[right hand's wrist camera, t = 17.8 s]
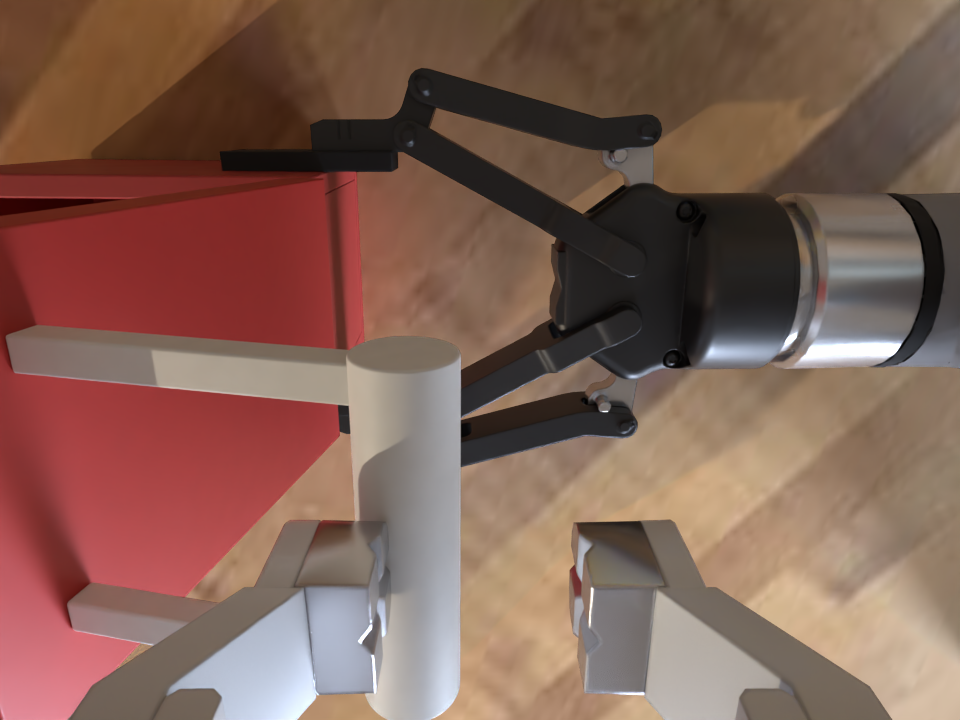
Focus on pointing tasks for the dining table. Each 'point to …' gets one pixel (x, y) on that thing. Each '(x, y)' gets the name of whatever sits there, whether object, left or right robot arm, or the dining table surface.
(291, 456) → the lid
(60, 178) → the chest
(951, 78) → the dining table surface
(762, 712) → the right robot arm
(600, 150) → the left robot arm
